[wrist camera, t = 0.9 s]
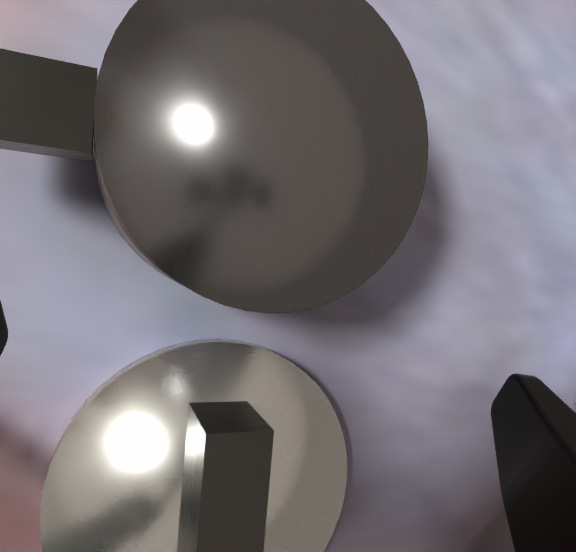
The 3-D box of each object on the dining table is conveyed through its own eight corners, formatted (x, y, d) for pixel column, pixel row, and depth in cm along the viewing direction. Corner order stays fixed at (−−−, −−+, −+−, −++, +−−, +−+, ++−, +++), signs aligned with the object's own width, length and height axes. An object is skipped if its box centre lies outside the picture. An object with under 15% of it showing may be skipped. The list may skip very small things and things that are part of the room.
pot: (336, 299, 23) (412, 318, 18) (-68, 277, 17) (-146, 295, 12) (358, 63, 23) (442, 6, 17) (-49, -41, 17) (-122, -178, 11)
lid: (323, 598, 25) (372, 675, 20) (32, 653, 20) (14, 770, 15) (347, 340, 24) (402, 362, 20) (54, 334, 19) (41, 361, 15)
